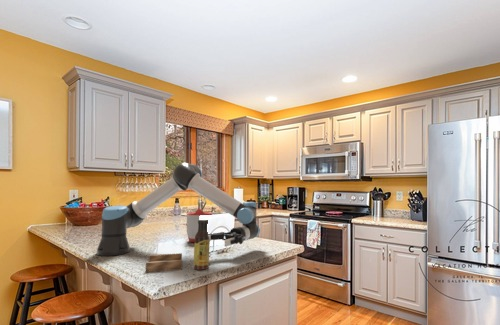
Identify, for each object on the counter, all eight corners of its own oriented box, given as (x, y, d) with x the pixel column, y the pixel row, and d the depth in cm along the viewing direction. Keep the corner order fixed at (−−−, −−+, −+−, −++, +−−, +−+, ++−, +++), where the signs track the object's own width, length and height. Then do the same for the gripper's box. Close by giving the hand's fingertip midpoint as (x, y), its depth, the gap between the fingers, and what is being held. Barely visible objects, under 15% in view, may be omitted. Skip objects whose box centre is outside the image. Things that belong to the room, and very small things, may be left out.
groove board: (145, 271, 114) (145, 262, 114) (149, 262, 126) (149, 255, 127) (181, 269, 117) (181, 260, 117) (181, 260, 130) (181, 253, 130)
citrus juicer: (206, 244, 165) (207, 209, 167) (180, 242, 171) (181, 209, 172) (218, 239, 180) (218, 207, 181) (194, 238, 185) (194, 207, 187)
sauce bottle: (199, 271, 114) (200, 221, 115) (190, 268, 118) (191, 220, 119) (212, 268, 119) (212, 219, 120) (202, 265, 123) (203, 218, 124)
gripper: (261, 244, 136) (236, 253, 118) (219, 239, 149) (191, 247, 131) (261, 228, 136) (236, 235, 118) (219, 224, 149) (191, 230, 131)
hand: (212, 241), depth 125 cm, fingers open, 13 cm apart
